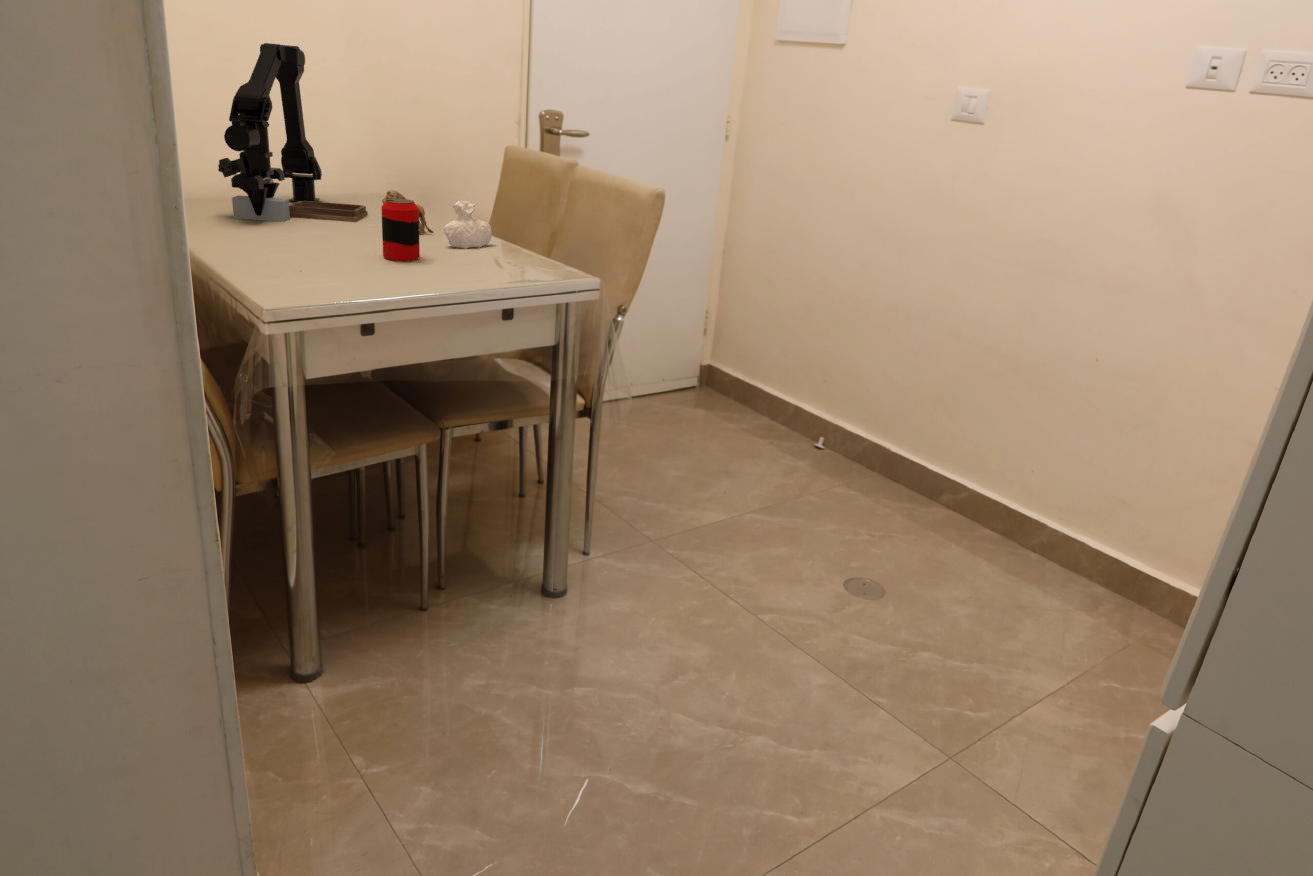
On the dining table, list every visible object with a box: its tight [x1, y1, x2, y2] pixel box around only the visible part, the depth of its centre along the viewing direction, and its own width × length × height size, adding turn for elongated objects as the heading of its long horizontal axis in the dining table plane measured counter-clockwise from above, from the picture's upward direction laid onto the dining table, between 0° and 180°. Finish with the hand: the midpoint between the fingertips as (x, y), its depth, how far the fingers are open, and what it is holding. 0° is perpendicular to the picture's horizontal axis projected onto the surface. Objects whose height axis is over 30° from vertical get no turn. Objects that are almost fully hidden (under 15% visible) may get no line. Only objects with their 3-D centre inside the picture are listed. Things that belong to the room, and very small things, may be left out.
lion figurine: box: [381, 190, 434, 235], centre depth 221 cm, size 15×5×9 cm, turn 63°
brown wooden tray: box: [289, 201, 368, 223], centre depth 232 cm, size 11×17×2 cm, turn 92°
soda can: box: [380, 198, 421, 262], centre depth 192 cm, size 8×8×12 cm
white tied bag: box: [443, 200, 492, 250], centre depth 210 cm, size 12×8×11 cm
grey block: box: [231, 195, 291, 222], centre depth 221 cm, size 4×12×5 cm, turn 92°
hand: (261, 214), depth 222 cm, fingers open, 4 cm apart
